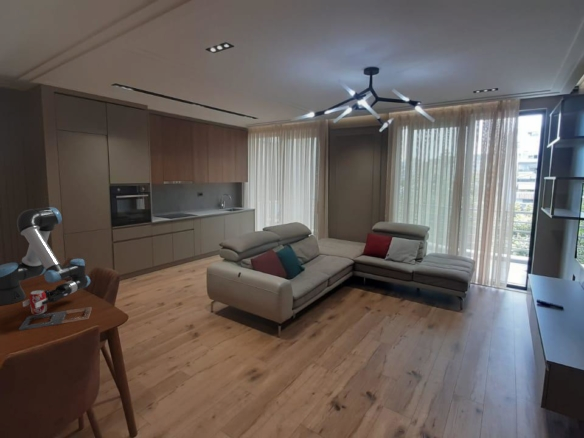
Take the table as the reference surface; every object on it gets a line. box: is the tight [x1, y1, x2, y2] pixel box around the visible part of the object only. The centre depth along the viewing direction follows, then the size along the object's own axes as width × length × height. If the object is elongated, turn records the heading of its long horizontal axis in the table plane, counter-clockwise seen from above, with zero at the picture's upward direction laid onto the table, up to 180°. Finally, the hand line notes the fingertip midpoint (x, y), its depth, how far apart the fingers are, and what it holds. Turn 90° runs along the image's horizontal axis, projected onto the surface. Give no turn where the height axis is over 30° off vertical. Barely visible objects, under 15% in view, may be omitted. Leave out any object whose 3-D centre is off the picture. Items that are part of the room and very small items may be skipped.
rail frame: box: [18, 306, 93, 331], centre depth 180 cm, size 15×31×1 cm, turn 116°
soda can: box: [29, 289, 48, 315], centre depth 175 cm, size 7×7×12 cm
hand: (29, 304), depth 170 cm, fingers closed on soda can, 7 cm apart
